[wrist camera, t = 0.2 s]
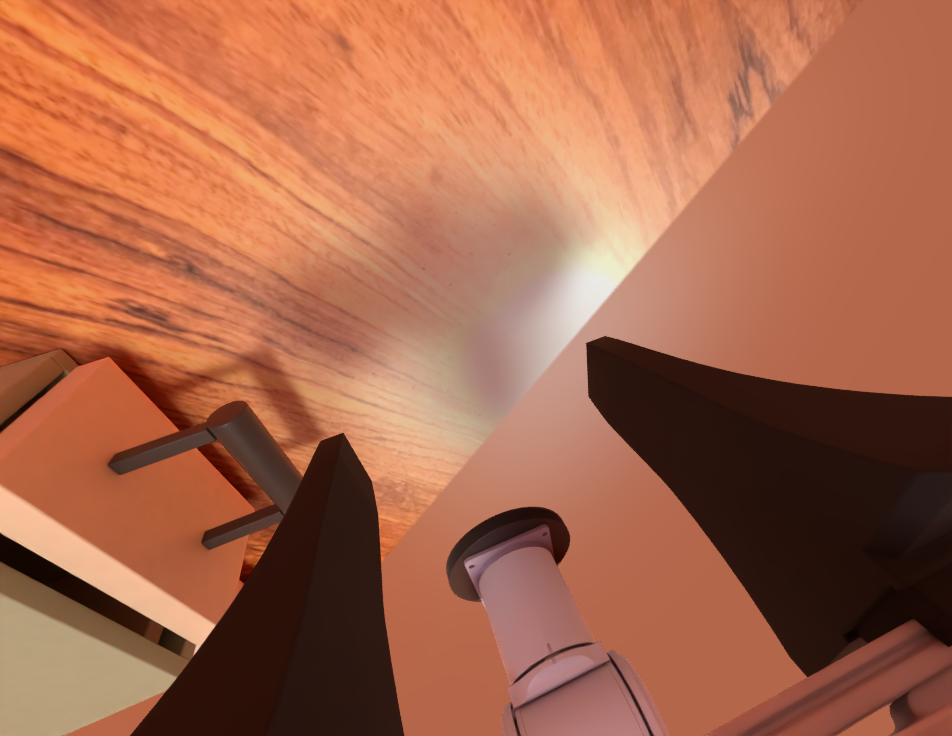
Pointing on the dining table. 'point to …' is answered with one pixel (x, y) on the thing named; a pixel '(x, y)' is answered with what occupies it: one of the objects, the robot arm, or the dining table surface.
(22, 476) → the drawer
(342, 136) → the dining table surface
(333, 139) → the dining table surface
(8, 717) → the cabinet
